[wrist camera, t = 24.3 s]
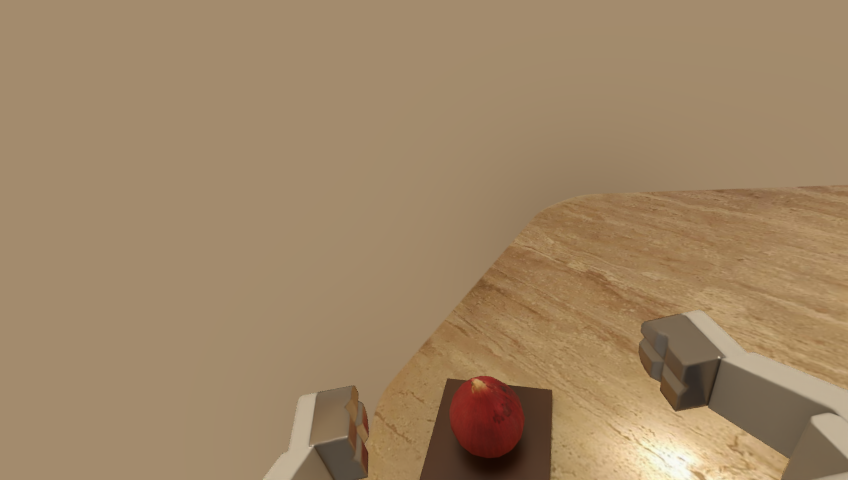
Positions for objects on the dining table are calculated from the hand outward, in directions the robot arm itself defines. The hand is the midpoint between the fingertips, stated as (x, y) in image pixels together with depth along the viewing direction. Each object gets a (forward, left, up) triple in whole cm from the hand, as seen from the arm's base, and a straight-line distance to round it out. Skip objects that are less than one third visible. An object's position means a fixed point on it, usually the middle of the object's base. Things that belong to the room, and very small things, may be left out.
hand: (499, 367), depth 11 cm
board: (-5, +11, -25) cm, 28 cm away
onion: (-4, +11, -24) cm, 27 cm away
